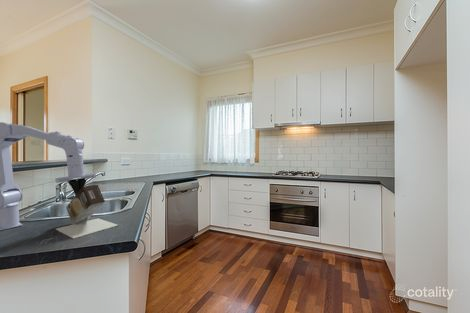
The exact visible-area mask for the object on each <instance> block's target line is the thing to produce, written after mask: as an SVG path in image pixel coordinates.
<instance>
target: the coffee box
mask: <svg viewBox="0 0 470 313" xmlns="http://www.w3.org/2000/svg"><path fill="white" fill-rule="evenodd" d="M105 202H106V201H105V198H104V196H103V193H102V192H101V189H100V187H99V185H98V184H91V185H84V187H82V188H81V189H80V191H79V192H78V193H77V194H76V196H75V195H74V196H73V198H72V199H71V200H70V201H69V203H68V204H67V205H66V206H65V209H66V211H67V215H68V217H69V219H70V222H71V225H73V224H77V223H81V222H85V221H89V219H90V218H91V217H92V216H93V215H94V214H95V213H96V212H97V211H98V209H99V208H101V206H103V205H104V203H105Z"/></svg>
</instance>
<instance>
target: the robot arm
mask: <svg viewBox="0 0 470 313" xmlns="http://www.w3.org/2000/svg"><path fill="white" fill-rule="evenodd" d="M27 137H33V138H36V139H40V140H44V141H45V142H46V144H47V145H50V146H53V147H56V148H60V149H62V150H64V152H65V155H66V156H65V158H66V164H67V166H66V167H67V176H63V177H62V176H61V177H55V178H54V179H55V183H56V184H57V183H59V184H60V183H65V182H67V183H68V184H69V186H70V188H71V189H72V191H73V193H74V197H75V196H76V194H77V193H78V192H79V191H80V189H81V188H82V187H84V186H86V185H85V184H86V182H87V180H88V179H95V178H97V174H96V173H85V167H84V159H83V158H84V157H83V149H84V148H85V142H84V141H83V140H82V139H80V138H78V137H76V138H73V136H71V135H68V134H67V135H65V134H63V133H61V132H60V131H51V132H46V131H43V130H41V129H38V128H34V127H32V126H29V125H23V124H15V123H7V122H2V121H0V231H3V230H8V229H13V228H17V227H21V226H23V223H21V222H20V211H19V210H20V208H19V205H20V203H21V201H22V200H23V198H24V194H23V191H22V190H21V188H20V185H19V184H17V183H15V179H14V173H13V172H14V170H13V164H12V163H13V162H12V156H11V148H10V147H11V146H12V145H14V144H15V143H17V142H19V141H22V140H24V139H26V138H27Z"/></svg>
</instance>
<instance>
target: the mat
mask: <svg viewBox="0 0 470 313" xmlns="http://www.w3.org/2000/svg"><path fill="white" fill-rule="evenodd" d="M118 226H119V224H117V223H113V222H111V221H107V220H104V219H101V218H94V219H90V220H89V219H88V220H87V221H84V222H81V223H77V224H70V225H66V226H61V227H58V228H55V230H56V231H58V232H59V233H61V234H63V235H65V236H68V237H70V239H71V238H72V239H78V238H81V237H84V236H89V235H91V234H92V235H93V234H95V233H98V232H101V231H106V230H108V229H112V228H115V227H118Z"/></svg>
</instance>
